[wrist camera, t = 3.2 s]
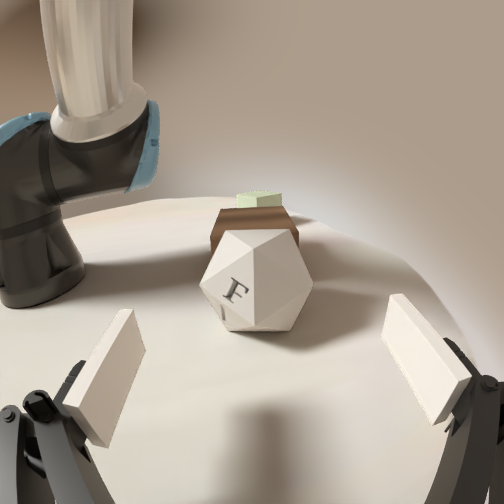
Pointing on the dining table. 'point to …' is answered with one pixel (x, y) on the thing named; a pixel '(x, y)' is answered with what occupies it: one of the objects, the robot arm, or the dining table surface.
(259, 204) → the green cube
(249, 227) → the plinth
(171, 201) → the dining table surface
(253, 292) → the die
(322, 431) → the dining table surface
